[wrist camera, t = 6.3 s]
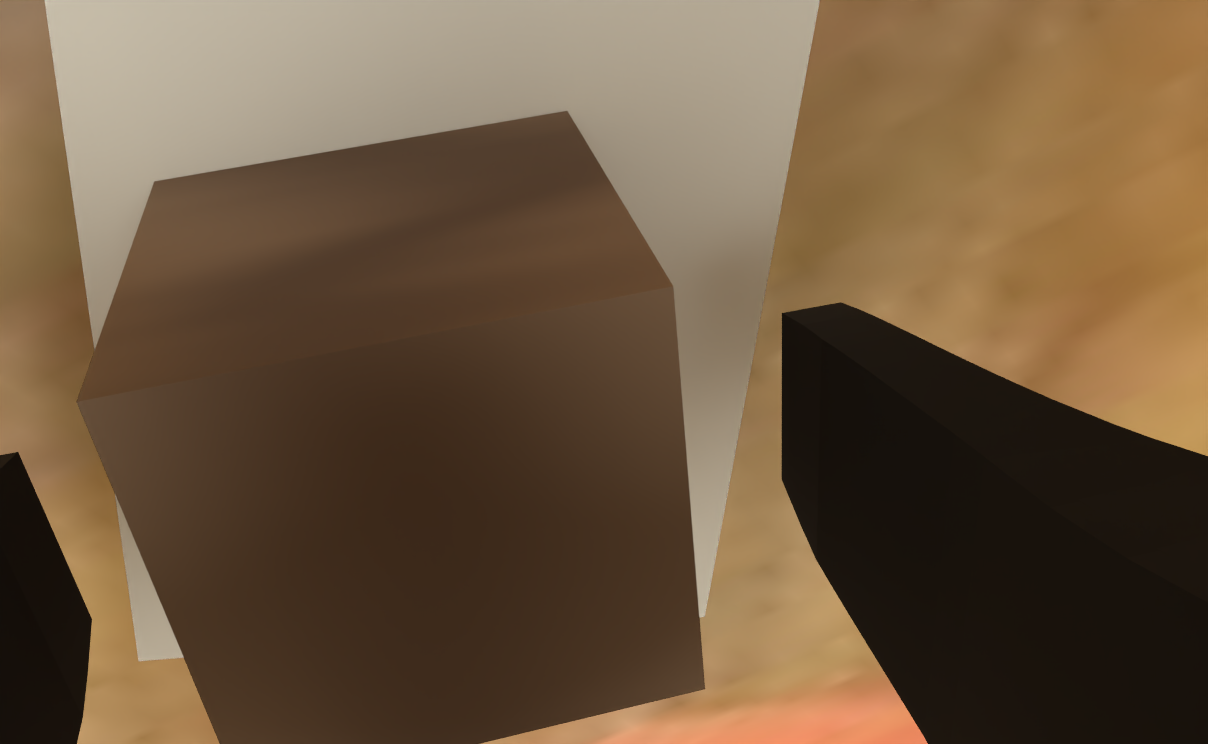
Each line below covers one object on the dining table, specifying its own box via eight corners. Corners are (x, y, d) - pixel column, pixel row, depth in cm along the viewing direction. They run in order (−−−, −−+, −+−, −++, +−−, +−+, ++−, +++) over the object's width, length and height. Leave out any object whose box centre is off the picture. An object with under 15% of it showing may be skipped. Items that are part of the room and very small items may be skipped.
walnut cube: (567, 110, 13) (673, 285, 9) (607, 439, 15) (705, 688, 11) (154, 181, 12) (76, 402, 8) (264, 510, 14) (243, 801, 11)
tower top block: (759, -121, 14) (836, -90, 12) (661, 516, 19) (704, 616, 17) (72, -179, 12) (23, -154, 10) (160, 544, 17) (138, 660, 15)
